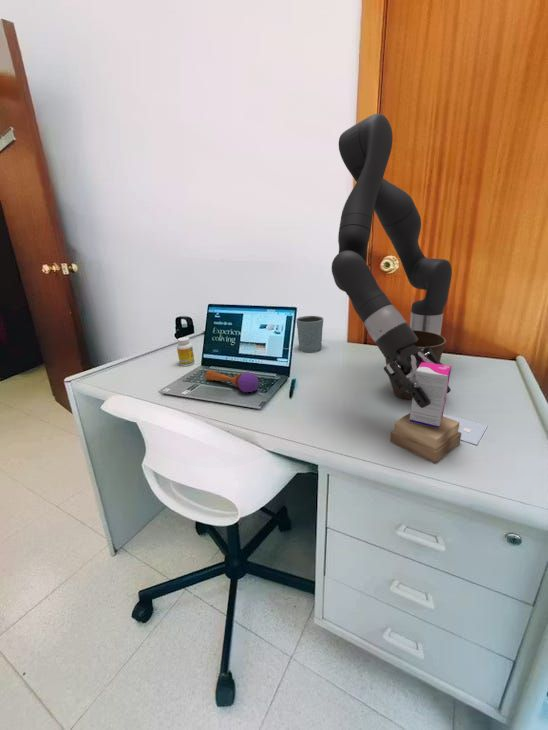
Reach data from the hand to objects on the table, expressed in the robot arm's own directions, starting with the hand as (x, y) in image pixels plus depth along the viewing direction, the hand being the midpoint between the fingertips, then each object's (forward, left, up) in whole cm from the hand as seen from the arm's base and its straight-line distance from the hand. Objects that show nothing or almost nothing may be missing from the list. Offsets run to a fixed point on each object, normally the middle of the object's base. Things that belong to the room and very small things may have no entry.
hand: (436, 399), depth 68 cm
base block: (0, -1, -11) cm, 11 cm away
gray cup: (-26, -63, -11) cm, 69 cm away
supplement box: (0, -2, -5) cm, 5 cm away
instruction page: (-10, 0, -11) cm, 15 cm away
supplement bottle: (+16, -84, -11) cm, 87 cm away
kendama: (+14, -56, -11) cm, 59 cm away
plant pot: (-18, -16, -11) cm, 27 cm away
